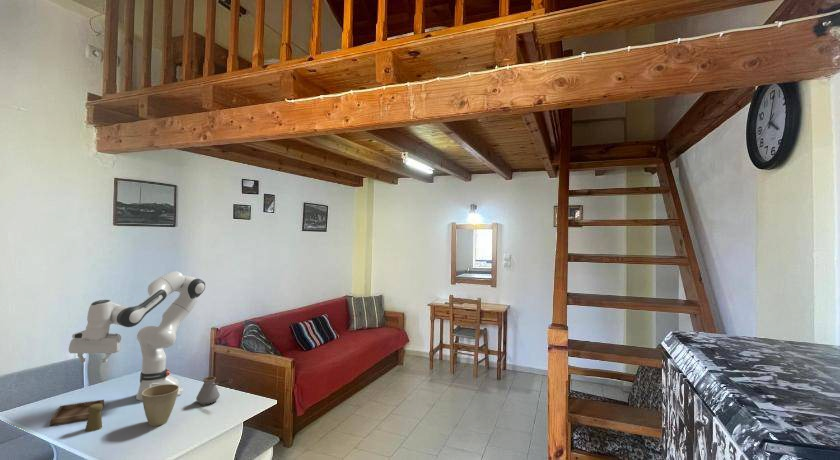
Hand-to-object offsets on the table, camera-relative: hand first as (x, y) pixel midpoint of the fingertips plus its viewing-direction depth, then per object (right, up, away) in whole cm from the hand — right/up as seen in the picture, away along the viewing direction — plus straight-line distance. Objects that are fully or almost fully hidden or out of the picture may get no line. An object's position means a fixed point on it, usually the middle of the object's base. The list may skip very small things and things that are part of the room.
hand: (93, 362), depth 176 cm
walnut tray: (-12, -29, +5) cm, 31 cm away
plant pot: (+31, -31, +1) cm, 44 cm away
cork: (+6, -29, -7) cm, 31 cm away
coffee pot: (+45, -33, +25) cm, 61 cm away
